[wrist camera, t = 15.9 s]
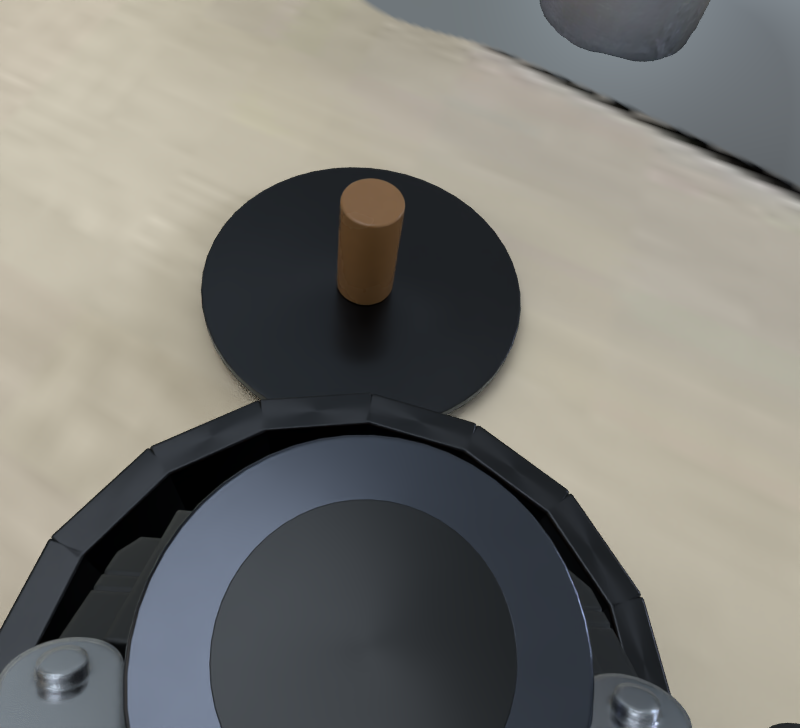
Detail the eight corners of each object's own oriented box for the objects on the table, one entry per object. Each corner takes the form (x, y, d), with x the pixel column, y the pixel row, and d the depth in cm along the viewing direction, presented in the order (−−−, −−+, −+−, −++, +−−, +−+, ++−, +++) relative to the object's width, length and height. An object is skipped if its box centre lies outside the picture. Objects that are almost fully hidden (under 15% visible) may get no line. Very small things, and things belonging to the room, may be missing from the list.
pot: (310, 474, 27) (308, 299, 17) (592, 701, 24) (784, 645, 14) (30, 777, 22) (-210, 773, 12) (353, 1123, 19) (401, 1512, 9)
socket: (326, 558, 16) (338, 353, 9) (495, 699, 15) (683, 609, 8) (170, 741, 14) (1, 688, 6) (353, 922, 13) (413, 1117, 5)
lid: (344, 142, 36) (349, 34, 31) (570, 288, 33) (619, 195, 28) (135, 307, 30) (98, 207, 25) (388, 507, 27) (407, 441, 22)
